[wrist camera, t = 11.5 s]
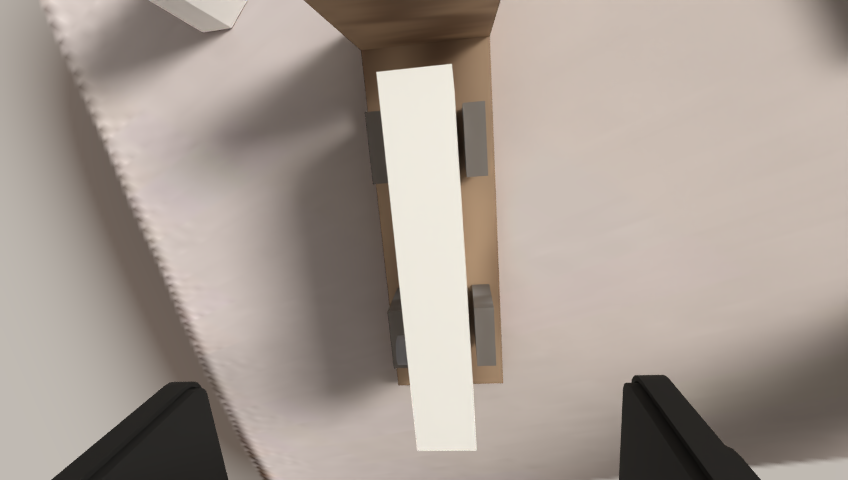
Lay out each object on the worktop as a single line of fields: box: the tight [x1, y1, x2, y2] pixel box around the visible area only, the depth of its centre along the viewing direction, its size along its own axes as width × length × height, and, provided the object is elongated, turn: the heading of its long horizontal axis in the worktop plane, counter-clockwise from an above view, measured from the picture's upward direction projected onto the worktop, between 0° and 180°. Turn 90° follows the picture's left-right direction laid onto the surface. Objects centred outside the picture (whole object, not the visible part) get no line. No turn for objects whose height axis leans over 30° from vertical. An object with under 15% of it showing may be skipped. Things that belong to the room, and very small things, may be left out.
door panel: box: [376, 64, 477, 451], centre depth 23 cm, size 4×18×10 cm, turn 5°
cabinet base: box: [304, 0, 503, 385], centre depth 22 cm, size 8×26×14 cm, turn 5°
